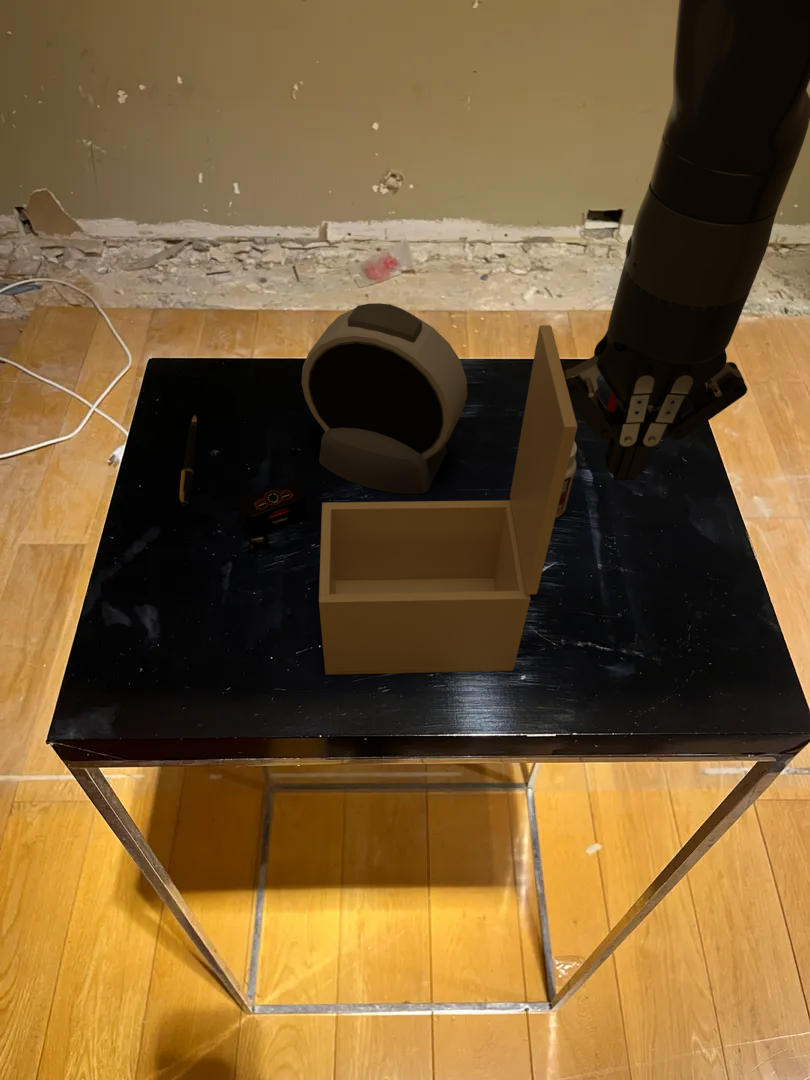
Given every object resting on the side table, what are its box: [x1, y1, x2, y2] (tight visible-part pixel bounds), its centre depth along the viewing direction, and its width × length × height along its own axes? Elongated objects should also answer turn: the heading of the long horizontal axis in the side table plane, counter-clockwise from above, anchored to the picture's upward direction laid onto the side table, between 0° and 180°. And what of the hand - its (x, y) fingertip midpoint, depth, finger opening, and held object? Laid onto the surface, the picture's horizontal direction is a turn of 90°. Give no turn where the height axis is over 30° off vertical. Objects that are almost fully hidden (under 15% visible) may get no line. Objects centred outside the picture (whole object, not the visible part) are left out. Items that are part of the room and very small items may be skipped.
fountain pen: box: [179, 414, 198, 509], centre depth 88 cm, size 14×1×2 cm, turn 5°
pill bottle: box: [555, 440, 578, 519], centre depth 83 cm, size 5×5×8 cm
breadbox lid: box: [509, 324, 578, 595], centre depth 61 cm, size 18×11×1 cm
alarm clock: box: [301, 302, 468, 495], centre depth 83 cm, size 16×10×18 cm, turn 69°
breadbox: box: [318, 499, 532, 676], centre depth 72 cm, size 17×11×11 cm, turn 92°
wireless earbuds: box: [238, 479, 308, 553], centre depth 82 cm, size 5×7×3 cm, turn 118°
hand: (622, 472), depth 62 cm, fingers closed
